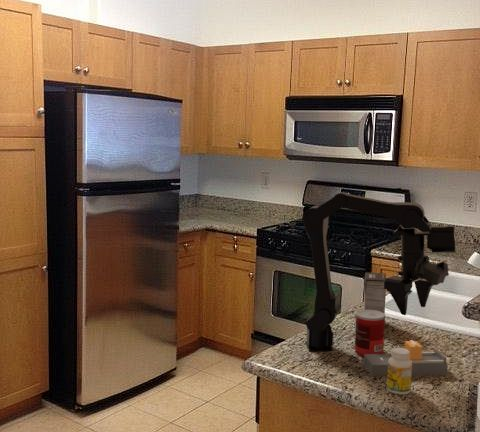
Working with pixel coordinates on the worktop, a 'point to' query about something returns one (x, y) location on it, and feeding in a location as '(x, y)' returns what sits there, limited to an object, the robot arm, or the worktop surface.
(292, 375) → the worktop surface
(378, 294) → the coffee box
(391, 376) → the supplement bottle
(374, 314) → the canned food
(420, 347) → the switch slider
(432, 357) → the switch base
